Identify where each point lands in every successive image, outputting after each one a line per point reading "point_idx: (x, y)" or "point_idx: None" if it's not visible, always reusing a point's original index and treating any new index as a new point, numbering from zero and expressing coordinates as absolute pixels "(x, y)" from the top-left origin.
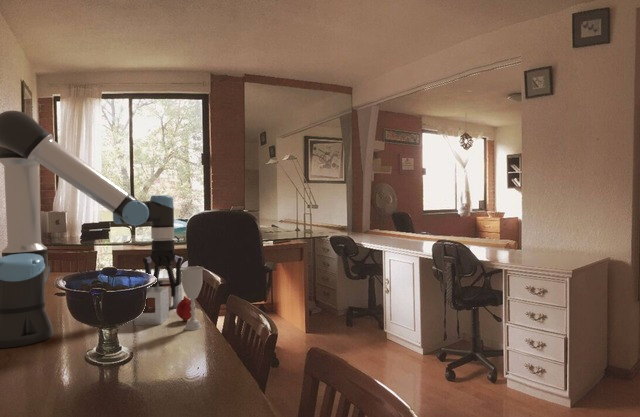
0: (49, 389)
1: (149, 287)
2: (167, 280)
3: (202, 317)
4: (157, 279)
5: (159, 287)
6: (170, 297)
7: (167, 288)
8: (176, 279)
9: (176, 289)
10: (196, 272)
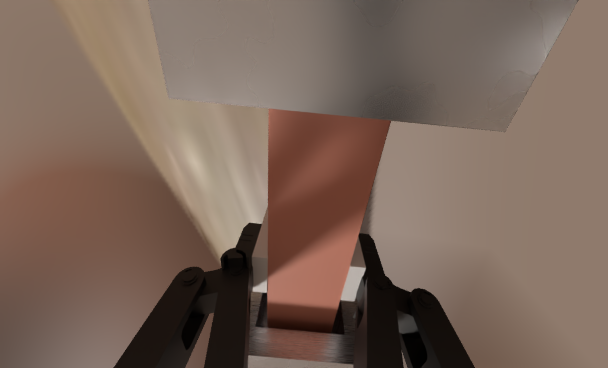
0: None
1: (427, 97)
2: (293, 356)
3: (64, 12)
4: (357, 352)
5: (278, 54)
6: (267, 215)
7: (167, 44)
8: (178, 318)
9: (251, 292)
10: None
